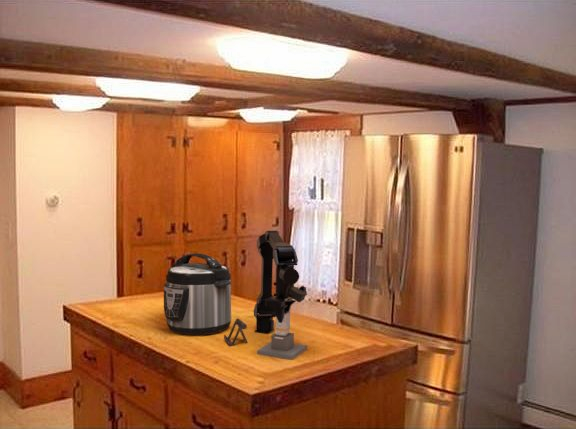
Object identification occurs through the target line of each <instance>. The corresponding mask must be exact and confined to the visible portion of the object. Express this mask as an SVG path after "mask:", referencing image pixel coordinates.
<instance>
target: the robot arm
mask: <svg viewBox="0 0 576 429" xmlns="http://www.w3.org/2000/svg"><path fill="white" fill-rule="evenodd" d="M256 248H257V252H258V254H259V256H260V257H261V273H260V274H261V275H260V276H261V277H260V293H259V295H258V297H257V298H256V303H255V304H254V309H253V317H254V318H255V320H256V321H255V322H256V324H255V327H256V329H255V330H254V332H255V333H262V334H270V333H272V332H274V331H275V320H274V318H276V317H277V319H278V321H279V323H282V320H283V313H284V311H290V310H291V307H292V306H293V304H295V303H296V302H297V303H301V302H303V301H305V298H306V296H307V295H308V292H307V287H306V286H305V285H302V286H300V287H299V286H297V287H296V286H295V285H296V283H298V281H299V279H300V274H299V271H298V270H297V269H295V266H298V263H299V262H298V261H299V259H298V255H297V252H296V250H295V248H294V246H293V245H292V244H290V243H286V242H285V240H284V239H283V238H282V237H281V235H280V232H279V230H266V231H265V232H264V233H262V234H261V235H260V236H258V238H257V240H256ZM273 261H274V262H273ZM273 263H274V264H275V282H273V268H274V267H273ZM273 286H275V292H274V293H273ZM290 312H291V311H290Z"/></svg>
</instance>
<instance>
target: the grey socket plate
mask: <svg viewBox="0 0 576 429" xmlns="http://www.w3.org/2000/svg"><path fill="white" fill-rule="evenodd" d="M270 337H271V338H270V342H269V343H266V344H265V345H263V346H262V347H260V348H259V349H257V350H256V354H257V355H261V356H266V357H273V358H279V359H286V360H291V361H293V360H294V359H296V358H297V357H298V356H299V355H301V354H302V353H304V352H305V351H306V350H307V349H308V345H307V344H303V343H302V344H300V343H295V341H294V340H295V333H293V332H290V335H288V336H287V337H283V336H276V332H274V333H273V334H272V335H271V336H270Z"/></svg>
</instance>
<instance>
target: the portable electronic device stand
mask: <svg viewBox="0 0 576 429" xmlns="http://www.w3.org/2000/svg"><path fill="white" fill-rule="evenodd" d="M236 327H238V329H237V331H236V333H235V336H234V338H233V340H231V337H232V335H233V333H234V330H235V328H236ZM247 328H248V326H247V324H246V323H245V322H244V321H243V320H241V319H240V318H236V319H235V321H234V323H233V325H232V328H231V329H230V332H229V334H228V335H227V336H226V334H224V335H223V339H224V341H225V342H226V343H227V344H228V345H229V346H231V347H233V346H235V344H236V341H237V339H238V336H239V335H240V334H241V336H242V339H243V341H245V344H246V343H248V340H247V338H246V335H245V333H244V331H243V330H246V329H247Z"/></svg>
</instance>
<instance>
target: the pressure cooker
mask: <svg viewBox="0 0 576 429" xmlns="http://www.w3.org/2000/svg"><path fill="white" fill-rule="evenodd" d="M192 257H196V258H200V259H203V260H205V261H206V263H201V262H190V261H191V258H192ZM231 275H232V274H231V273H230V268H229V267H228V266H226V265H222V263H221V262H220V261H219V260H217V259H215V258H214V257H212V256H210V255H208V254H203V253H196V252H195V253H189V254H188V253H187V254H186V255H185V254H184V255H183V256H181V257H179V258H177V259H176V261H175V262H174V263H172V264H171V267H170V268H168V269H167V274H166V276H165V283H163V312H164V316H165V318H166V325H167V327H168V329H169V330H170V331H171V332H173V333H177V334H180V335H181V334H182V335H193V336H194V335H197V336H198V335H199V336H202V335H209V334H215V333H218V332H221V331H224V330H227V329H228V328H229V327H230V325H231V323H232V322H231V321H232V276H231Z"/></svg>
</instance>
